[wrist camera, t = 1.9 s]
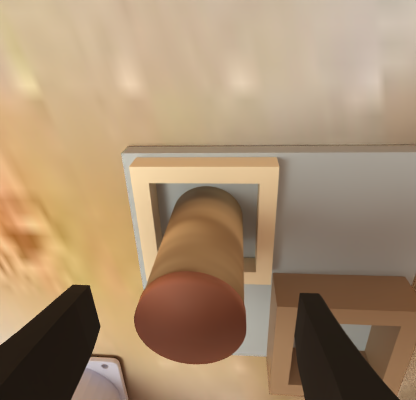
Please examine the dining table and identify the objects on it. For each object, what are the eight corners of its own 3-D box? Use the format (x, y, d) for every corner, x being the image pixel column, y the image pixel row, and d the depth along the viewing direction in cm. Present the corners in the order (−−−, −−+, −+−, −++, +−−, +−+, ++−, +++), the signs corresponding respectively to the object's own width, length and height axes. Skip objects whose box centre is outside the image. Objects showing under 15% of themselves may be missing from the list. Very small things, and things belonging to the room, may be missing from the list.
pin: (174, 246, 18) (141, 361, 12) (168, 184, 16) (126, 282, 10) (243, 247, 18) (245, 367, 12) (244, 185, 16) (248, 286, 10)
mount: (156, 338, 23) (144, 386, 20) (127, 146, 17) (102, 174, 14) (380, 349, 22) (403, 402, 19) (443, 144, 15) (495, 175, 12)
